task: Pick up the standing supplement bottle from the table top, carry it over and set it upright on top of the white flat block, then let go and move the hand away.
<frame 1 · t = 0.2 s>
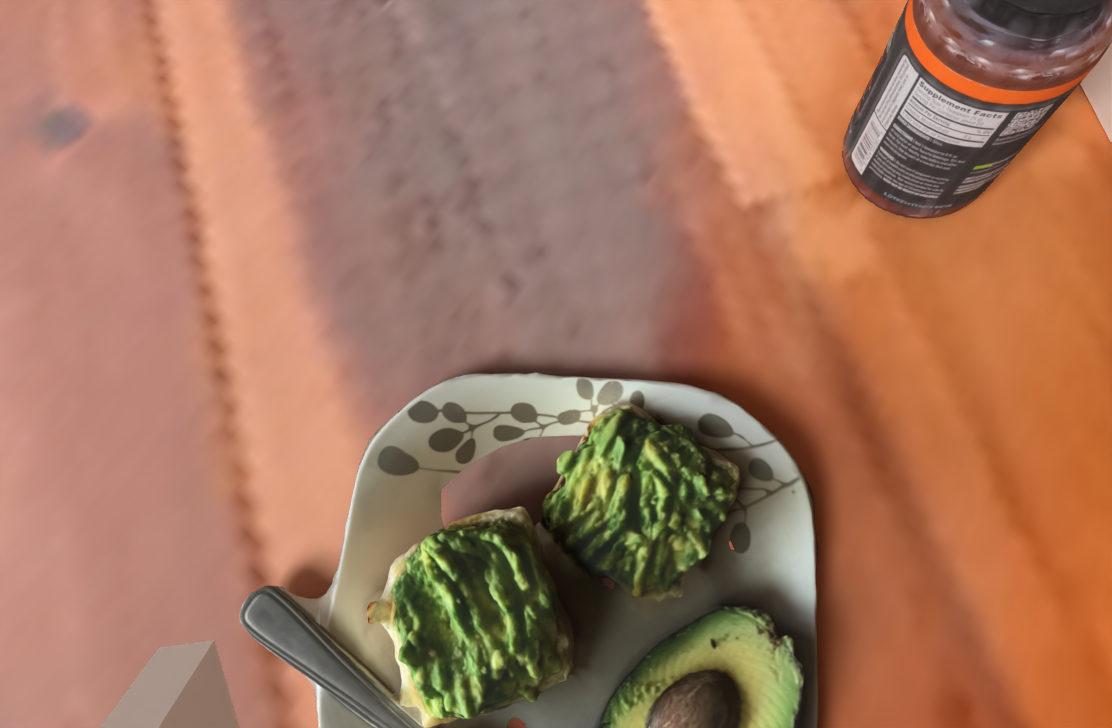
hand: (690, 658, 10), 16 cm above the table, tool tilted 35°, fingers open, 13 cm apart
salad plate: (582, 619, 26), on the table
supplement bottle: (908, 164, 31), on the table
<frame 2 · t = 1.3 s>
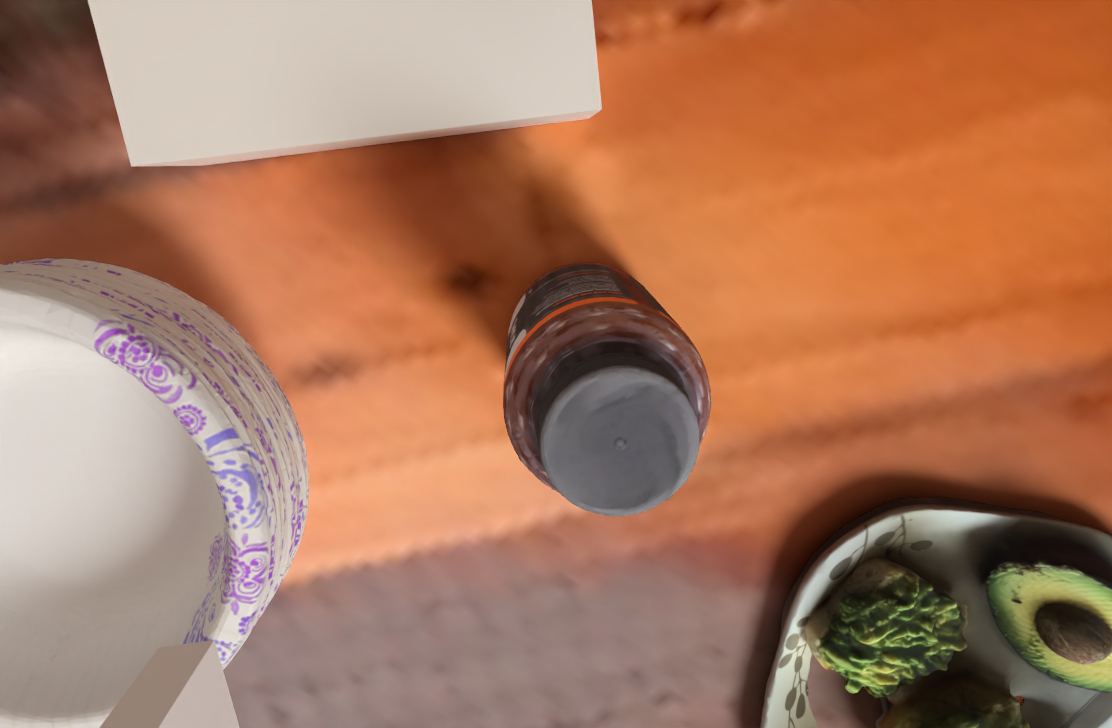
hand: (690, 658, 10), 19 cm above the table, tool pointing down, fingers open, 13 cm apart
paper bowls: (142, 437, 29), on the table
salad plate: (945, 650, 34), on the table
supplement bottle: (583, 334, 29), on the table
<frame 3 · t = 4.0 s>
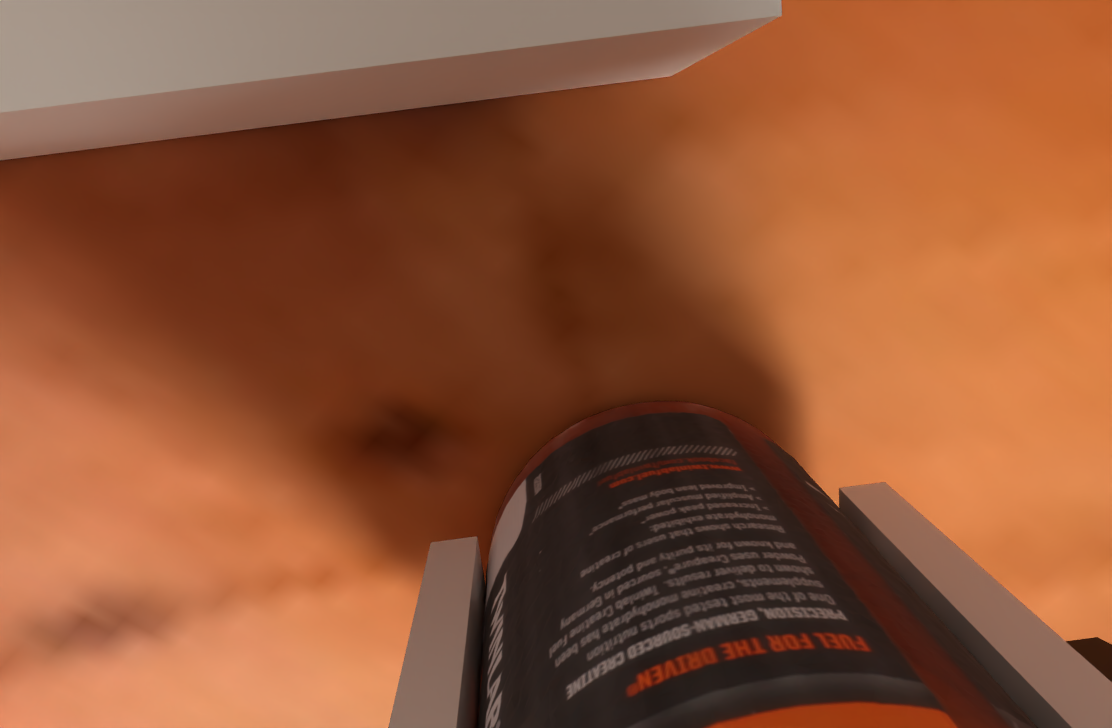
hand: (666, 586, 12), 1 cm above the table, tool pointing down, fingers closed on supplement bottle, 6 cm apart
supplement bottle: (648, 538, 14), on the table, touching gripper
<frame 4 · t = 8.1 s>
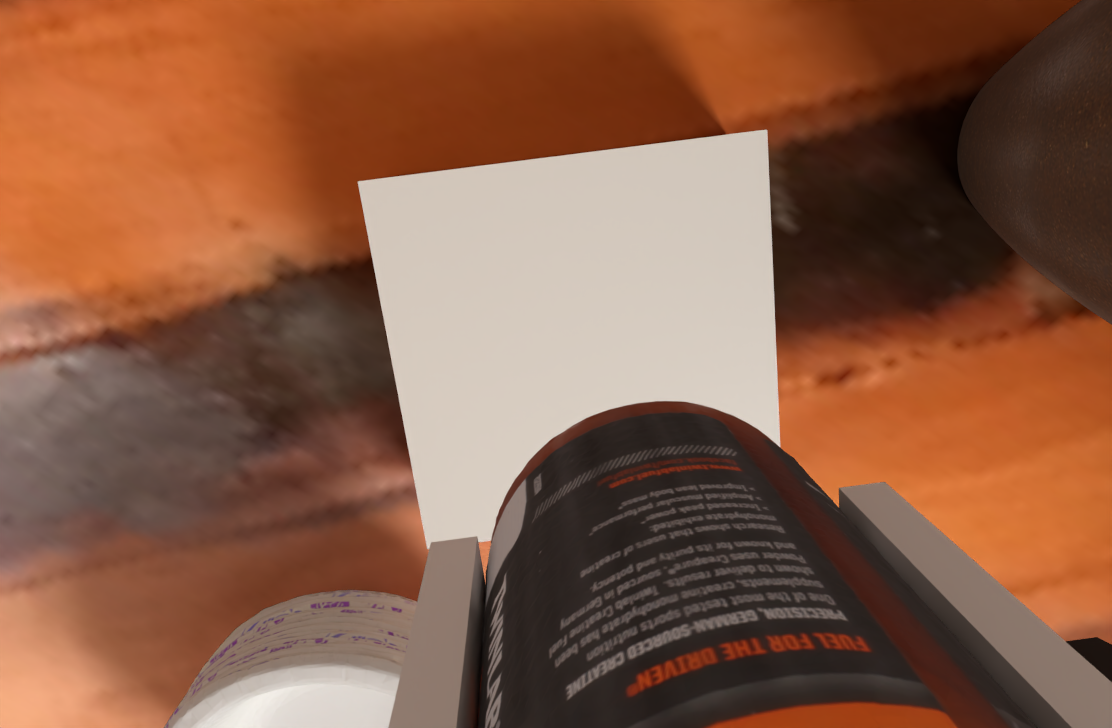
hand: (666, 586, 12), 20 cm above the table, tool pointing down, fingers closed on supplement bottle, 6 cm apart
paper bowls: (373, 687, 36), on the table
supplement bottle: (648, 538, 14), point 19 cm above the table, touching gripper
plant pot: (1035, 145, 31), on the table
white flat block: (575, 323, 32), on the table
when the fingers open (7 cm above the table, at t = 12.3 s): supplement bottle stays where it is, resting on white flat block.
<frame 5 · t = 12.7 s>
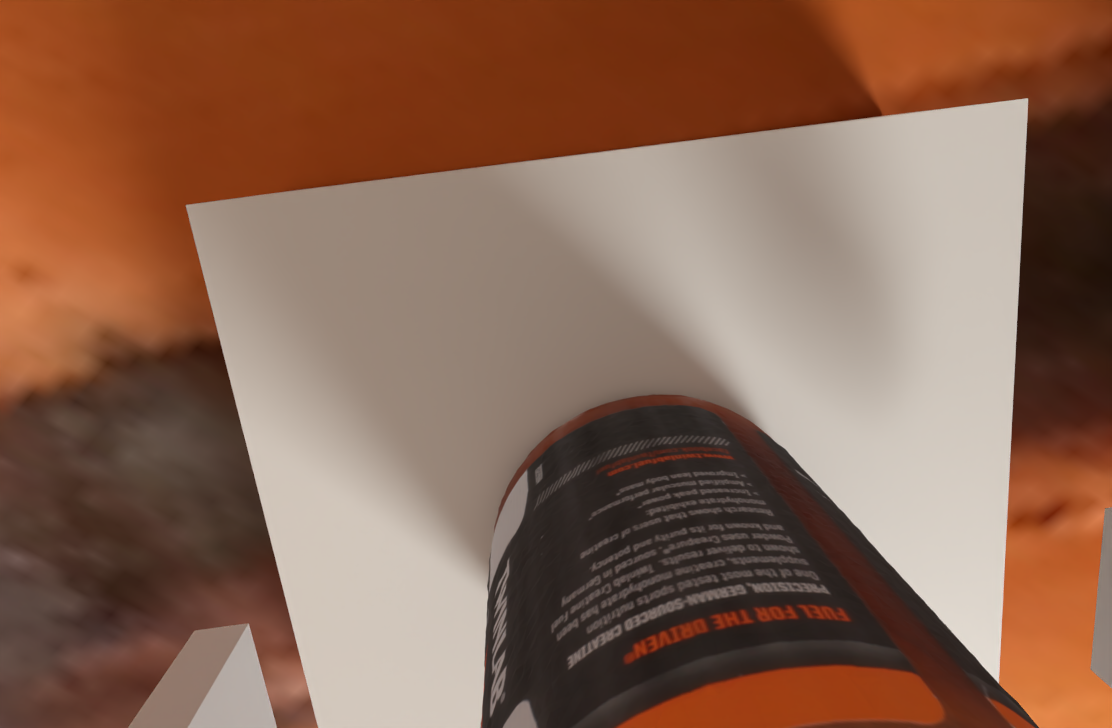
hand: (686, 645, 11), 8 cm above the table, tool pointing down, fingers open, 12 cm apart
supplement bottle: (645, 528, 14), point 5 cm above the table, touching white flat block
white flat block: (614, 436, 19), on the table
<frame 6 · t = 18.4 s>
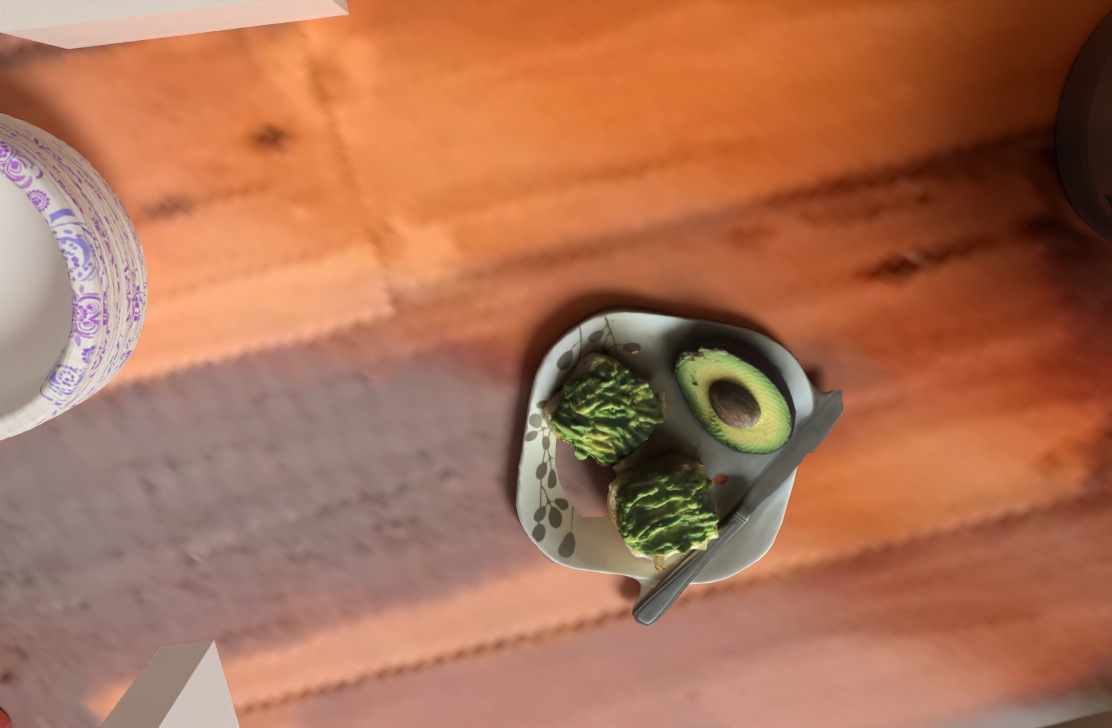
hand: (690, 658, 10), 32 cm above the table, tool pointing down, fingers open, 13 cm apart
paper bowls: (34, 261, 39), on the table
salad plate: (665, 438, 44), on the table
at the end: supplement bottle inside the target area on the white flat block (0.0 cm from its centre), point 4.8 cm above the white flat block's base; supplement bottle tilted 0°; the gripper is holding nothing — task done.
